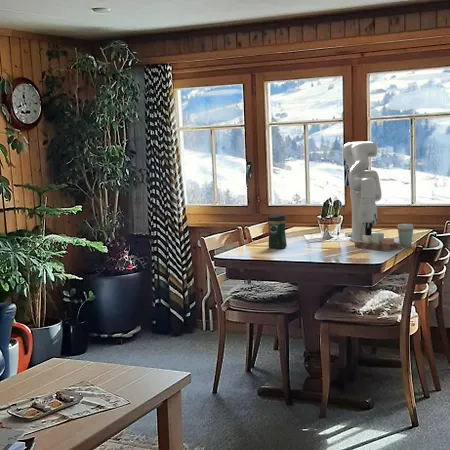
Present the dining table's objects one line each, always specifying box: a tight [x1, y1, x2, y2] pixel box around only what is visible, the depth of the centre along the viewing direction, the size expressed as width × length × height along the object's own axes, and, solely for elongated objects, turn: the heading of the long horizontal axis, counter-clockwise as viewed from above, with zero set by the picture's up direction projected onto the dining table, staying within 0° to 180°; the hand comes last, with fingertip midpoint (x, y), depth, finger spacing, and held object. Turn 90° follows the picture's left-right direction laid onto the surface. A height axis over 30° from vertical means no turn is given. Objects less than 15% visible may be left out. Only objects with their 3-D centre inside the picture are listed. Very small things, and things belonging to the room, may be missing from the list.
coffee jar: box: [267, 213, 287, 250], centre depth 366 cm, size 10×8×19 cm
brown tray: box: [354, 240, 403, 252], centre depth 356 cm, size 22×12×3 cm, turn 33°
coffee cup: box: [396, 223, 414, 249], centre depth 357 cm, size 8×8×12 cm
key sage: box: [372, 232, 385, 243], centre depth 356 cm, size 4×4×5 cm
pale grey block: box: [362, 235, 372, 242], centre depth 362 cm, size 4×4×5 cm
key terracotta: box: [382, 237, 395, 245], centre depth 350 cm, size 4×4×5 cm
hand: (368, 235), depth 361 cm, fingers closed
